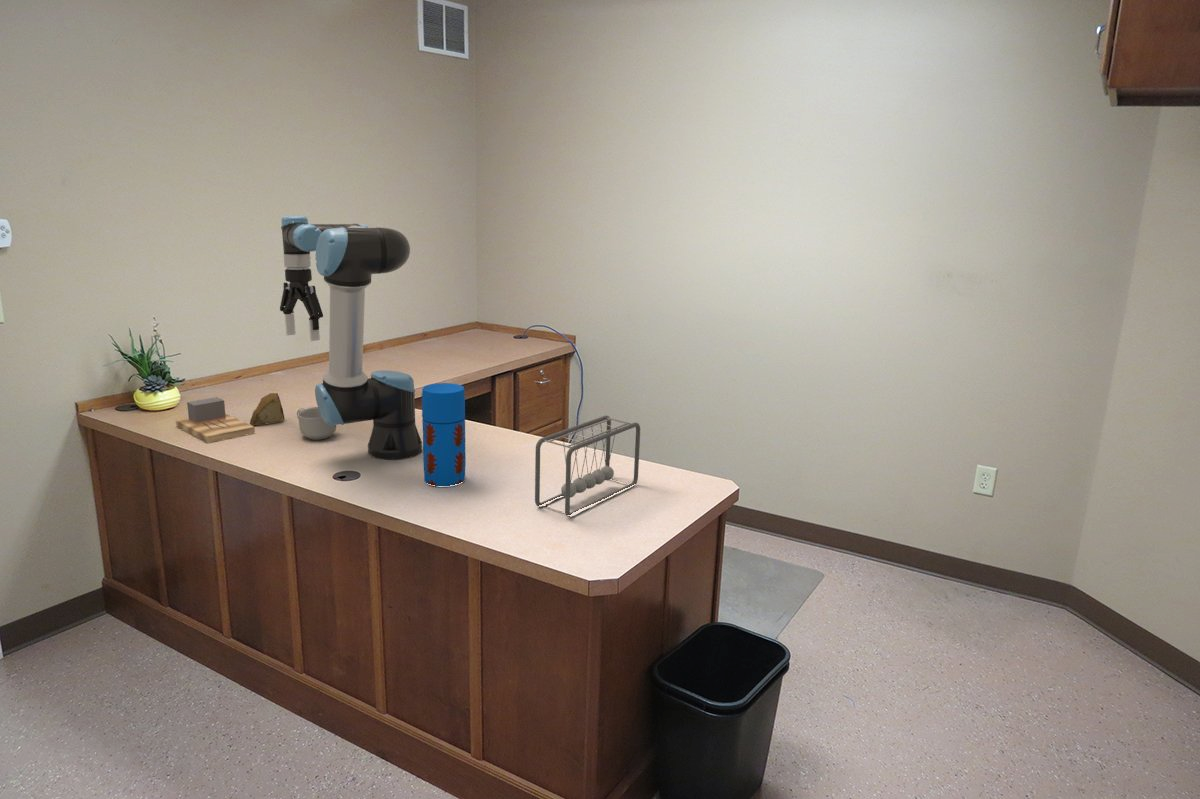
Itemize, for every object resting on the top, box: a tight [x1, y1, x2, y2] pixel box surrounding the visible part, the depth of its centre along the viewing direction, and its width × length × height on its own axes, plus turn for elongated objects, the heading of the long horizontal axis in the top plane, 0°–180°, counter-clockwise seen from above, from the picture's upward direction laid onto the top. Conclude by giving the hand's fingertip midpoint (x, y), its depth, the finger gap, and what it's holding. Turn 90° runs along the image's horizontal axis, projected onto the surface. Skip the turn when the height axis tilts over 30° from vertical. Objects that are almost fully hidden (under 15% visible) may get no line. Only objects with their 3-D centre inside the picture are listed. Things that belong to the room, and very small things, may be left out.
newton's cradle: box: [534, 415, 641, 516], centre depth 205 cm, size 30×10×18 cm, turn 144°
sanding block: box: [186, 396, 226, 425], centre depth 251 cm, size 5×9×6 cm, turn 138°
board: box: [175, 413, 256, 444], centre depth 249 cm, size 22×14×2 cm, turn 48°
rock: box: [249, 392, 285, 427], centre depth 258 cm, size 11×9×10 cm
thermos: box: [421, 382, 467, 486], centre depth 212 cm, size 11×11×25 cm
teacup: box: [296, 406, 337, 441], centre depth 246 cm, size 14×11×8 cm
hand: (302, 337), depth 252 cm, fingers open, 13 cm apart
